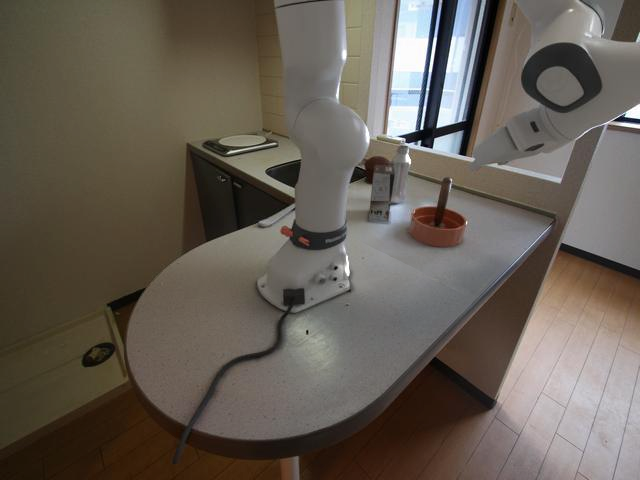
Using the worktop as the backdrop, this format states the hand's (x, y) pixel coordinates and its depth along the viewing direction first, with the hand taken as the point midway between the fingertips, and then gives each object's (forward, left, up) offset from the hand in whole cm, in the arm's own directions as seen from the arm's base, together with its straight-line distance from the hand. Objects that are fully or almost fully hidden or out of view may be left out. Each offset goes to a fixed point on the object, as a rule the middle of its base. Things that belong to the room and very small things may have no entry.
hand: (485, 165), depth 72 cm
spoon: (-12, +52, -25) cm, 59 cm away
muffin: (+31, +51, -25) cm, 65 cm away
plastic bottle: (+18, +32, -25) cm, 45 cm away
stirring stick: (+6, +10, -24) cm, 27 cm away
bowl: (+6, +10, -25) cm, 28 cm away
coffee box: (+4, +29, -25) cm, 39 cm away
